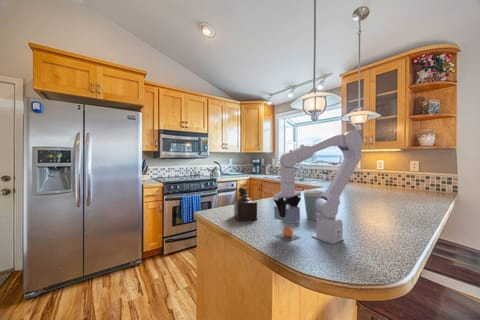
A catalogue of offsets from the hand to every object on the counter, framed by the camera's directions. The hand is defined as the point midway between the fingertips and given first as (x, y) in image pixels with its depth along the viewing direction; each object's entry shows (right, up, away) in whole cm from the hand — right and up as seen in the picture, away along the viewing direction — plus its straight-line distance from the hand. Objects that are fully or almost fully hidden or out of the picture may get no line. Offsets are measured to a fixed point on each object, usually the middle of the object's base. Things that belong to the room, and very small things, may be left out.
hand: (287, 215), depth 83 cm
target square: (0, -9, 0) cm, 9 cm away
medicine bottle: (+7, -9, +22) cm, 24 cm away
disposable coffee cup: (+20, -9, +24) cm, 32 cm away
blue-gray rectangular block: (0, -2, 0) cm, 2 cm away
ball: (0, -7, 0) cm, 7 cm away
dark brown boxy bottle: (-16, -9, +23) cm, 30 cm away
